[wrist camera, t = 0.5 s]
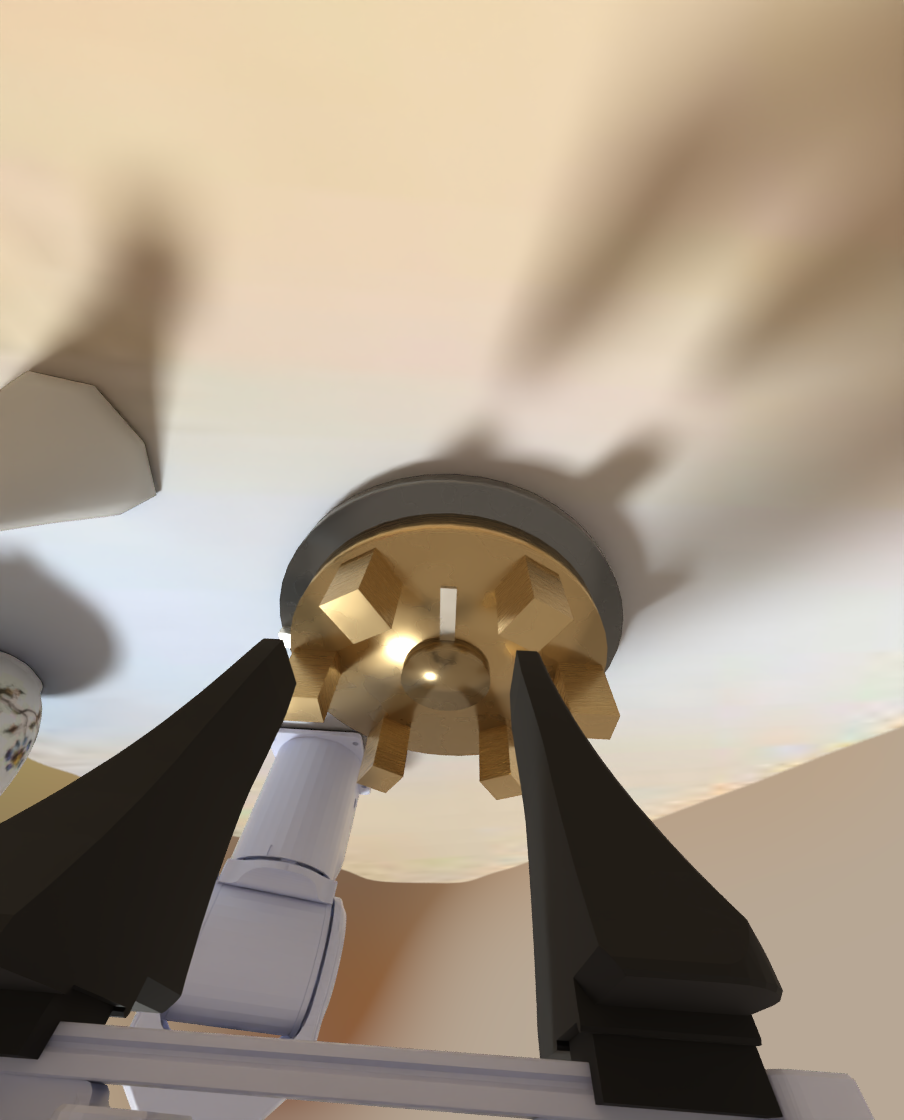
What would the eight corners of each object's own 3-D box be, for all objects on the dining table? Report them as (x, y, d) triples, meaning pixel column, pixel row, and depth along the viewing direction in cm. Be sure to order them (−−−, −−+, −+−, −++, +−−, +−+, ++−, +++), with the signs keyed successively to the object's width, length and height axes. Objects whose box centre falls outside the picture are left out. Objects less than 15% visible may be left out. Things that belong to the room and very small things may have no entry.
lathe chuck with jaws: (565, 736, 28) (582, 813, 24) (327, 722, 29) (301, 795, 24) (635, 521, 19) (685, 585, 14) (273, 505, 19) (213, 562, 15)
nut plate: (577, 732, 30) (583, 755, 29) (317, 716, 31) (308, 738, 29) (664, 483, 19) (682, 498, 17) (249, 465, 19) (229, 479, 18)
